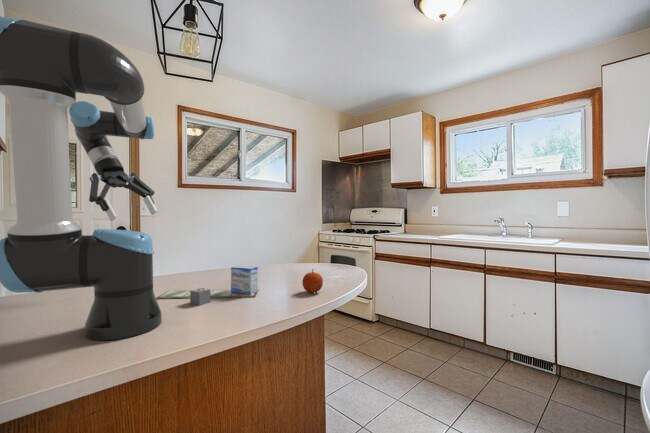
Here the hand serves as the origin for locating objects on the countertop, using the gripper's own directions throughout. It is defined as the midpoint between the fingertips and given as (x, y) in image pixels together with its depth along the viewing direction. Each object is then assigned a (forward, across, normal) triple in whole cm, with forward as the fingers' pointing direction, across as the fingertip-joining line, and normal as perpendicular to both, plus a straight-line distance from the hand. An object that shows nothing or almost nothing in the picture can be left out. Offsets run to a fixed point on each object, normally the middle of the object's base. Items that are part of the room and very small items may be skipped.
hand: (135, 215), depth 99 cm
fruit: (+53, -24, +28) cm, 64 cm away
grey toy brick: (+36, +1, +8) cm, 37 cm away
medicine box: (+40, -13, +12) cm, 44 cm away
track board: (+35, -7, +4) cm, 36 cm away
